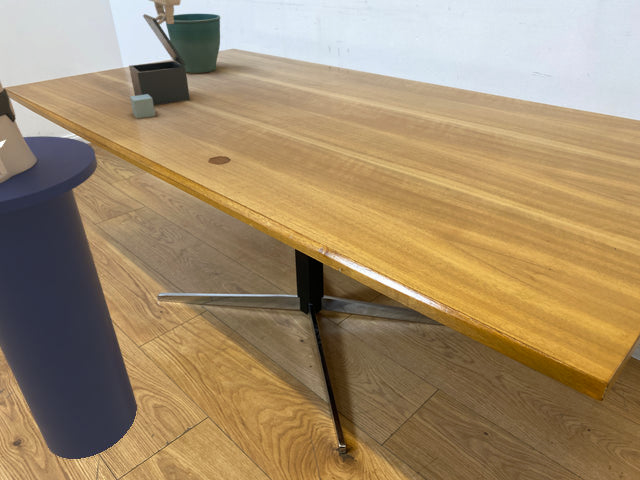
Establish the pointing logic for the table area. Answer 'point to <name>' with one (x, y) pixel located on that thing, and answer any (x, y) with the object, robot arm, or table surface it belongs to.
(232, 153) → the table surface
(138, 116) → the block
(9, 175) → the robot arm
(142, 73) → the dark grey open box
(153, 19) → the lid
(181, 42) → the flower pot
